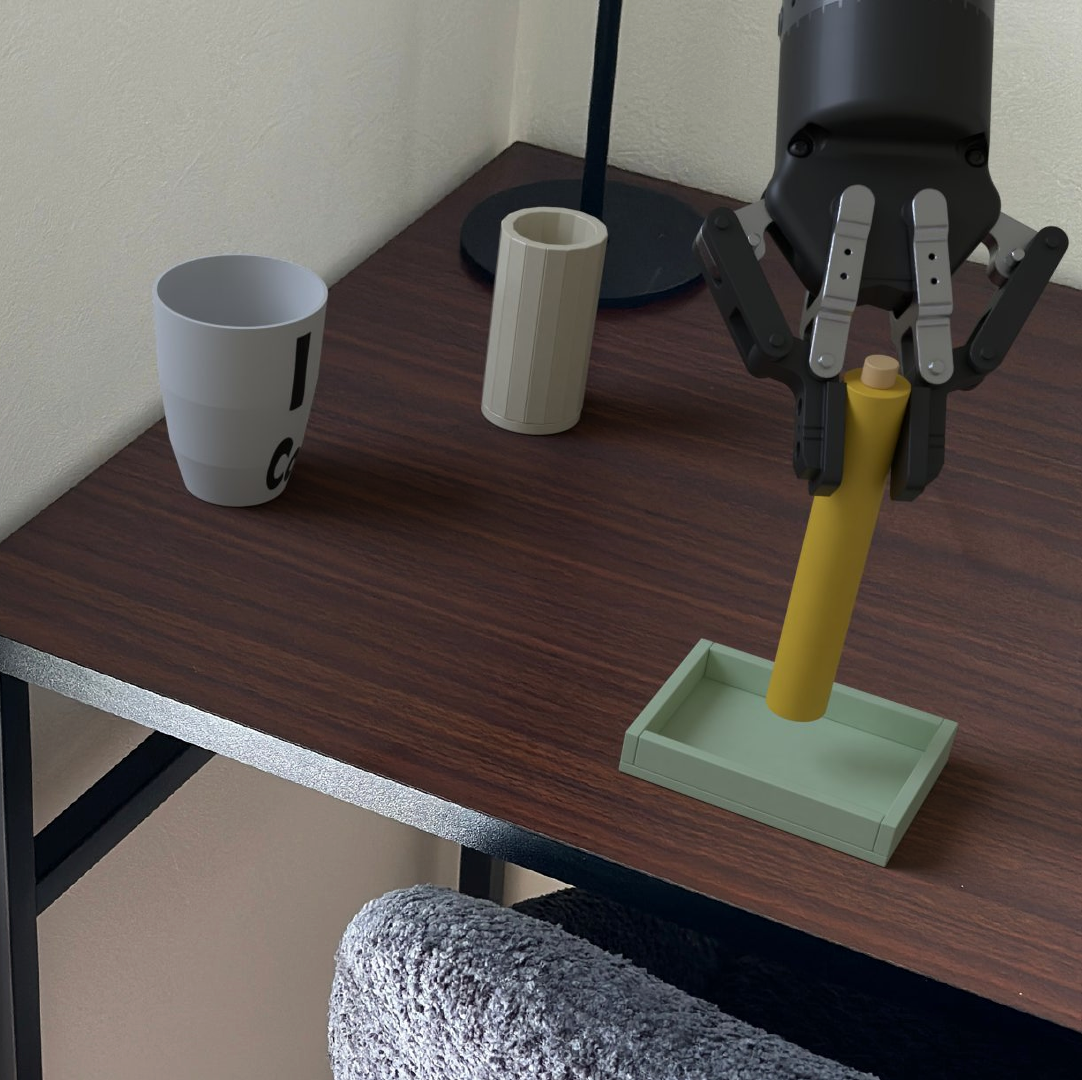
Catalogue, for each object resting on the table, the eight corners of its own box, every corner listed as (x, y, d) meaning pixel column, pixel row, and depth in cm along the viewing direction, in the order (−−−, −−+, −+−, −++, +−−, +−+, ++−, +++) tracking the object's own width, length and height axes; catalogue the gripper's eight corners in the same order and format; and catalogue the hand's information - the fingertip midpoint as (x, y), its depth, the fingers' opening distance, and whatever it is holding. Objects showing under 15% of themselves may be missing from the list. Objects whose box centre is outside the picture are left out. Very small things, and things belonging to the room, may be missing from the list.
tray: (947, 761, 86) (959, 722, 85) (884, 868, 81) (896, 827, 79) (693, 675, 91) (701, 637, 89) (618, 770, 85) (625, 731, 84)
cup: (303, 531, 99) (314, 336, 93) (136, 512, 100) (136, 318, 94) (326, 450, 105) (338, 262, 99) (169, 433, 106) (171, 245, 100)
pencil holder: (577, 390, 111) (603, 209, 105) (583, 437, 107) (611, 251, 101) (479, 385, 111) (499, 204, 105) (482, 432, 107) (503, 246, 101)
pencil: (821, 689, 85) (910, 348, 75) (830, 724, 83) (922, 379, 73) (761, 685, 85) (843, 344, 75) (769, 720, 83) (854, 375, 73)
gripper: (717, -28, 73) (694, 453, 72) (1117, -8, 73) (1103, 476, 71) (676, 72, 81) (654, 509, 79) (1038, 91, 80) (1024, 531, 79)
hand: (867, 491), depth 75 cm, fingers closed on pencil, 2 cm apart
